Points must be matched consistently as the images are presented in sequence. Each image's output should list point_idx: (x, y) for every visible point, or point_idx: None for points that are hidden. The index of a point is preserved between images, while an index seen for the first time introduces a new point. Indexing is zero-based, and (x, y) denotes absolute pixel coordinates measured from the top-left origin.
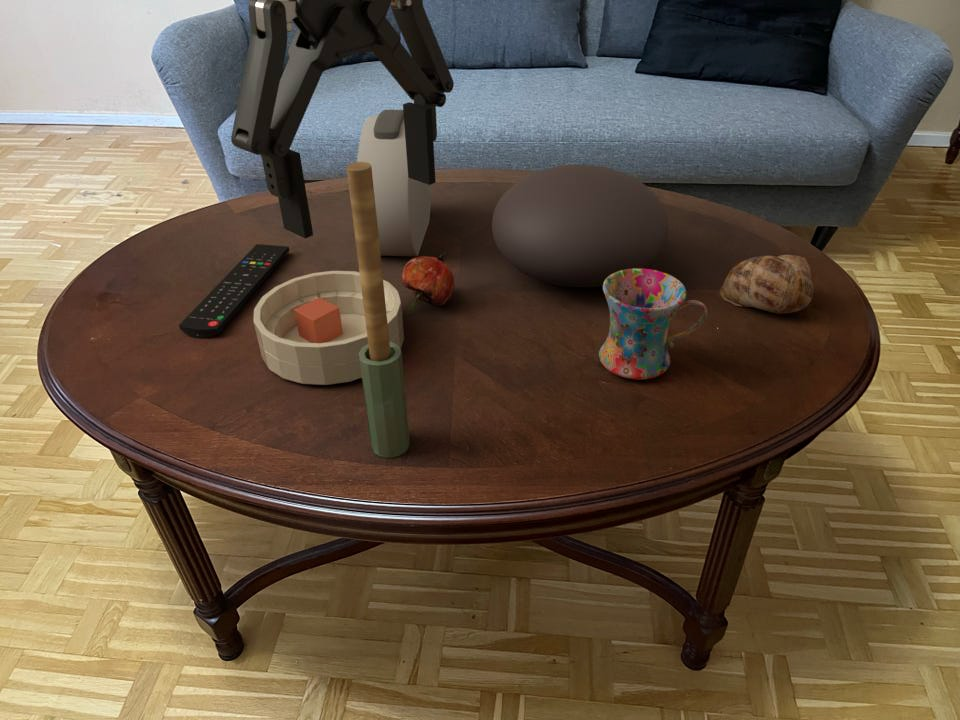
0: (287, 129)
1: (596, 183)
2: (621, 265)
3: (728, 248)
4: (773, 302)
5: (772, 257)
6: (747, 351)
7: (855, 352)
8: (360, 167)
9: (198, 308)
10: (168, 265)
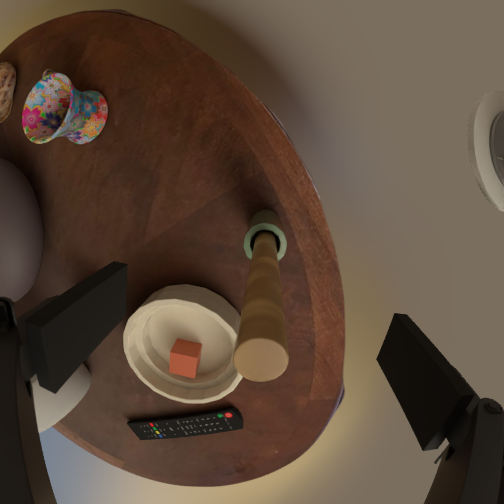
0: (495, 431)
1: None
2: (13, 167)
3: None
4: (12, 74)
5: None
6: (51, 68)
7: (38, 28)
8: (267, 353)
9: (220, 430)
10: (192, 464)
